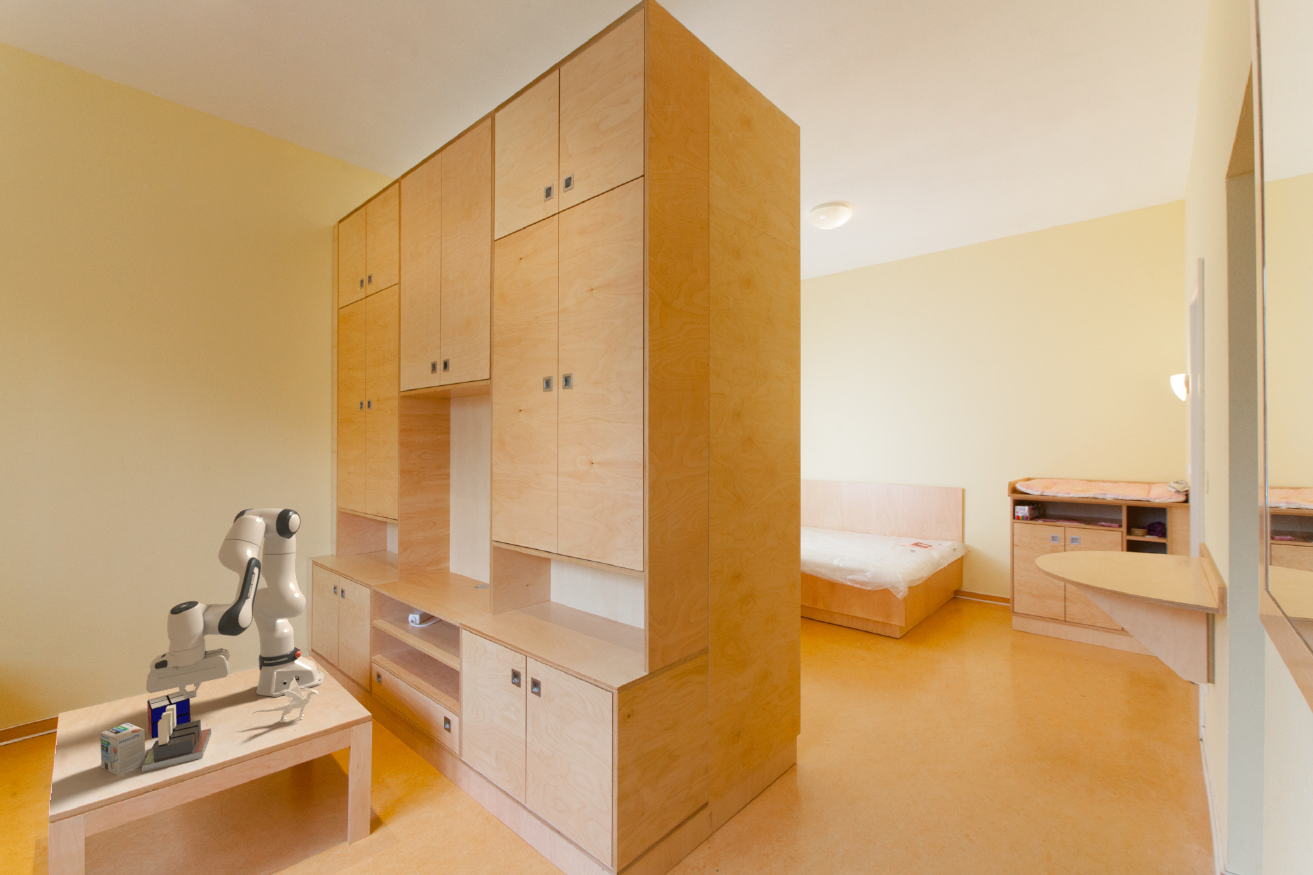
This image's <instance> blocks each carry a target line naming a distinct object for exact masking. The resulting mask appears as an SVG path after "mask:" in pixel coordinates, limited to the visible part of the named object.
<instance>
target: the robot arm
mask: <svg viewBox="0 0 1313 875" xmlns="http://www.w3.org/2000/svg"><path fill="white" fill-rule="evenodd" d="M301 521H302V520H301V517H300V514H299V513H298V511H297V510H293V509H290V508H278V507H267V508H265V507H264V508H245V509H242V510H241V511H240V512H238V513H237V514H236V516H235V517H234V519H233V524H232V526H230V528H229V530H228V532H227V534H226V536H225V538H224V540H223V542H222V544H221V546H220V549H219V551H218V556H217V557H218V561H219V562H220V564H221V565H222V566H223V567H224V568H226V569H228V570H229V571H232V572H235V573H236V574H238V576H239V580H238V586H237V590H236V594H235V598H234V600H233V601H232V602H231V603H225V604H223V603H222V604H220V603H219V604H217V603H200V602H199V601H196V600H189V601H185V602H181V603H179V604H176V605H174V606H173V607H172V608H171V609H170V610H169V612H168V616H167V621H166V622H167V623H166V624H167V626H166V627H167V628H166V631H167V638H168V640H169V646H168V651H166V652H165V653H161V654H159V655H158V656H156V657H154V659H153V660H152V661H151V663H150V664H149V672H148V674H147V677H146V684H145V685H146V688H145V689H146V692H148V693H149V694H153V693H158V692H163V691H168V690H172V689H175V688H176V689H177V688H178V690H179V691H180V692H182V693H183V694H184V699H189V698H190V699H194V698H196V697H198V690H199V688H200V686H201V684H202V683H204V682H209V681H214V680H218V679H223V678H226V677H227V676H229V675H230V670H231V669H230V668H231V667H230V663H229V659H230V656H231V655H230V651H229V650H228V649H227V648H226V649H225V648H218V649H211V650H207V648H206V640H205V637H206V636H207V635H209V636H216V635H217V636H218V635H220V636H228V637H229V636H231V637H237V636H239V635H242V633H244V632H245V631H246V630H247V629H248V628H249V627H250V625H251V624H252V622H253V618H254V622H255V625H256V628H257V631H258V635H259V649H260V650H259V651H260V652H259V655H258V668H259V678H258V683H257V688H256V691H255V693H256V694H257V695H258V696H264V697H265V696H268V697H269V696H270V697H273V698H277V697H280V696H283V695H284V696H285V692H286V690H289V687H290V684H291V682H292V680H293V679H294V678H295V680H296V682H297V684H298V686H299V688H300V689H304V688H301V687H305V688H309V689H311V688H313V687H317V686H319V685H320V684H322V683H323V682H324V680H325V675H324V672H323V671H321V670H318V667H317V665H316V663H315V662H314V661H313V660H311V659H308V658H307V657H303V656H302V652H301V648H300V647H295V629H294V628H293V625H292V624H291V623H290V622H289V620H288V619H293V618H294V619H295V618H297V617H298V616H300V615H301V614H302V613H303V612H304V611H305V609H306V605H307V599H306V597H305V595H304V594H303V592H302V591H301V589H300V587H299V586H300V585H299V582H298V579H297V576H296V575H297V574H296V560H297V559H296V557H297V554H296V553H297V538H296V533H297V532H298V531H299V529H300V527H301V523H302V522H301ZM263 539H264V540H263ZM262 544H263V546H262ZM261 546H262V555H261V561H260V559H259V558H258V554H259V551H260V548H261ZM261 576H262V578H263V579H264V580H265V583H266V586H263V587H258V586H259V582H260V578H261ZM190 685H193V687H194V689H193V690H189V691H188V690H187V689H186V688H187V686H190Z"/></svg>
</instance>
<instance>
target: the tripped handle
mask: <svg viewBox="0 0 1313 875" xmlns="http://www.w3.org/2000/svg"><path fill="white" fill-rule="evenodd" d="M166 718H168V721H169V736H171V734H172V711H170V712H165V713H163V715H162V719H166Z"/></svg>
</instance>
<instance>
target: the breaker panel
mask: <svg viewBox="0 0 1313 875" xmlns="http://www.w3.org/2000/svg"><path fill="white" fill-rule="evenodd" d="M201 723H202V722H201V719H198V720H194V721H191V722H188V723H183V724H178V725H176V727H175V728H174V729H172V734H171V736H169V741H168V743H166V744H162V745H159V743H158V739H157V740H155V741H154V743H153V745H152V747H151V749H150V750H149V752H148V754H147V756H146V757H145V762H144V763H143V765H142V766H141V773H142V774H143V773H146V772H147V773H148V772H151V771H155V770H160V769H164V768H168V767H172V766H175V765H180V764H184V763H189V762H191V761H195V760H196V761H197V760H200V759H203V757H204V754H205V752H206V750H207V747H208V744H209V741H210V738H211V736H212V728H211V727H210V728H206V729H202V726H201Z"/></svg>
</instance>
